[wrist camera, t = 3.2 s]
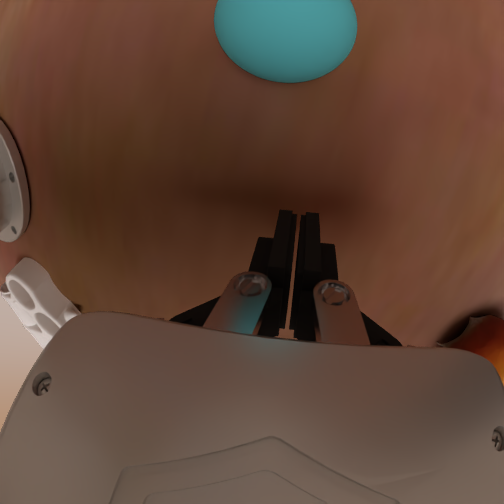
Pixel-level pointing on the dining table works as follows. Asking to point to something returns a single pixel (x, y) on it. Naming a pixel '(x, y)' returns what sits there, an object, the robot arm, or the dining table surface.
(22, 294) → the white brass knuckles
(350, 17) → the ball
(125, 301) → the dining table surface
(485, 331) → the fruit
